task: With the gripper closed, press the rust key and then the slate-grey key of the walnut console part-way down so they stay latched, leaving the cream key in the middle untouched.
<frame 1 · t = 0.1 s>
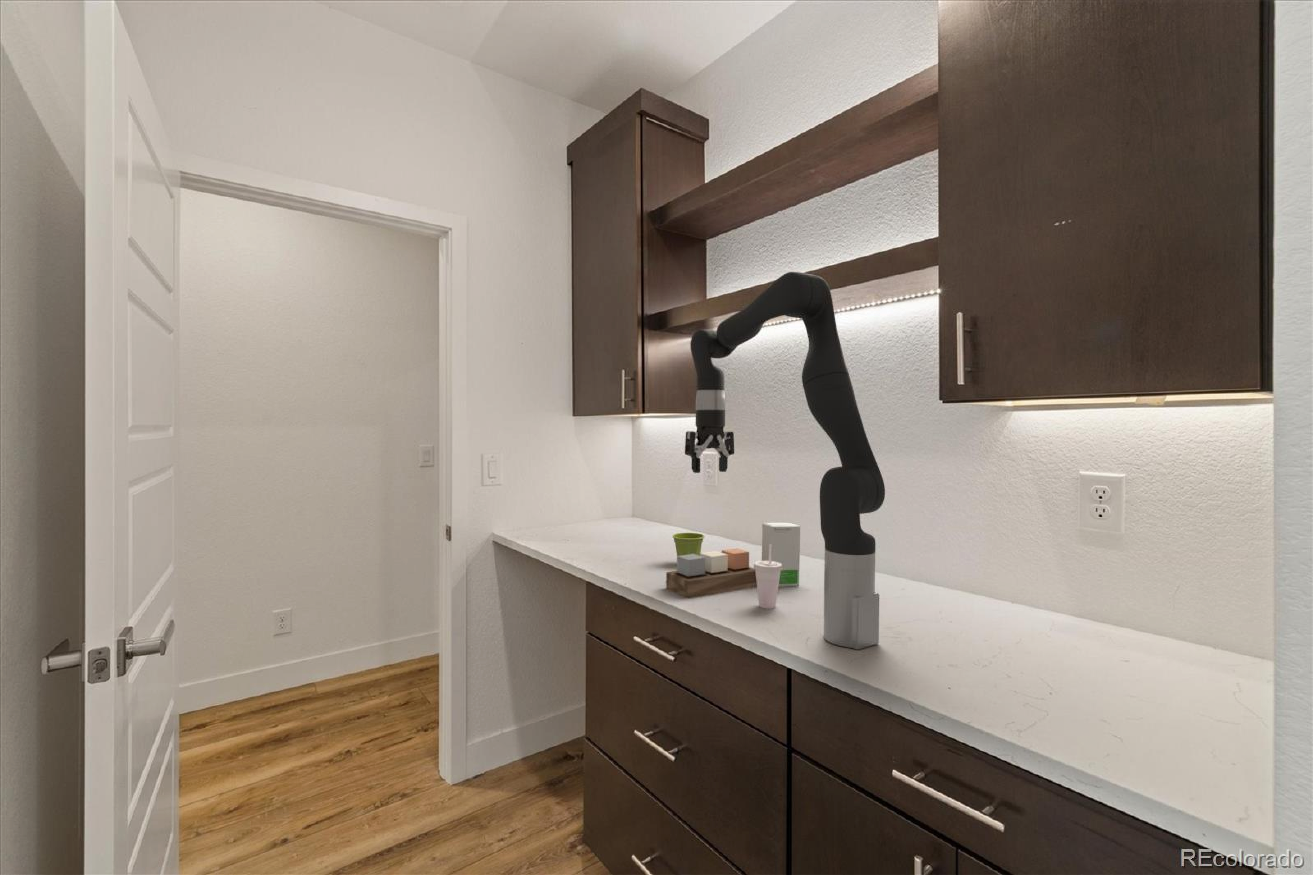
hand: (709, 472, 151), 29 cm above the table, fingers open, 8 cm apart
smoothie: (767, 606, 134), on the table
skincare box: (779, 584, 154), on the table
key cream: (713, 561, 150), point 6 cm above the table, slide at 0.0 cm
console: (713, 586, 150), on the table
key rust: (735, 558, 154), point 6 cm above the table, slide at 0.0 cm
key slate: (690, 564, 146), point 6 cm above the table, slide at 0.0 cm
plant pot: (688, 565, 174), on the table
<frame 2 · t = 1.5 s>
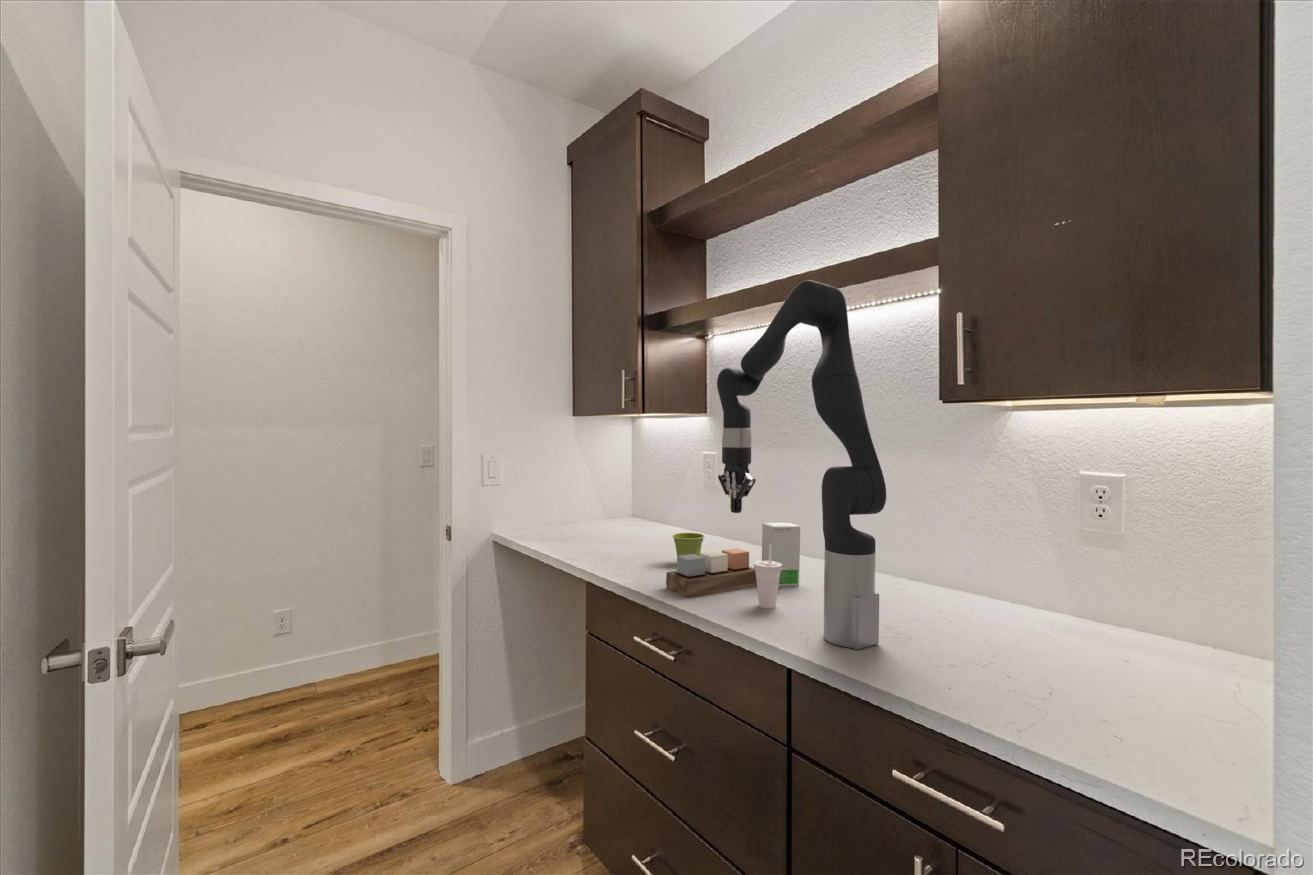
hand: (735, 512, 153), 18 cm above the table, fingers closed
nothing on the table moved.
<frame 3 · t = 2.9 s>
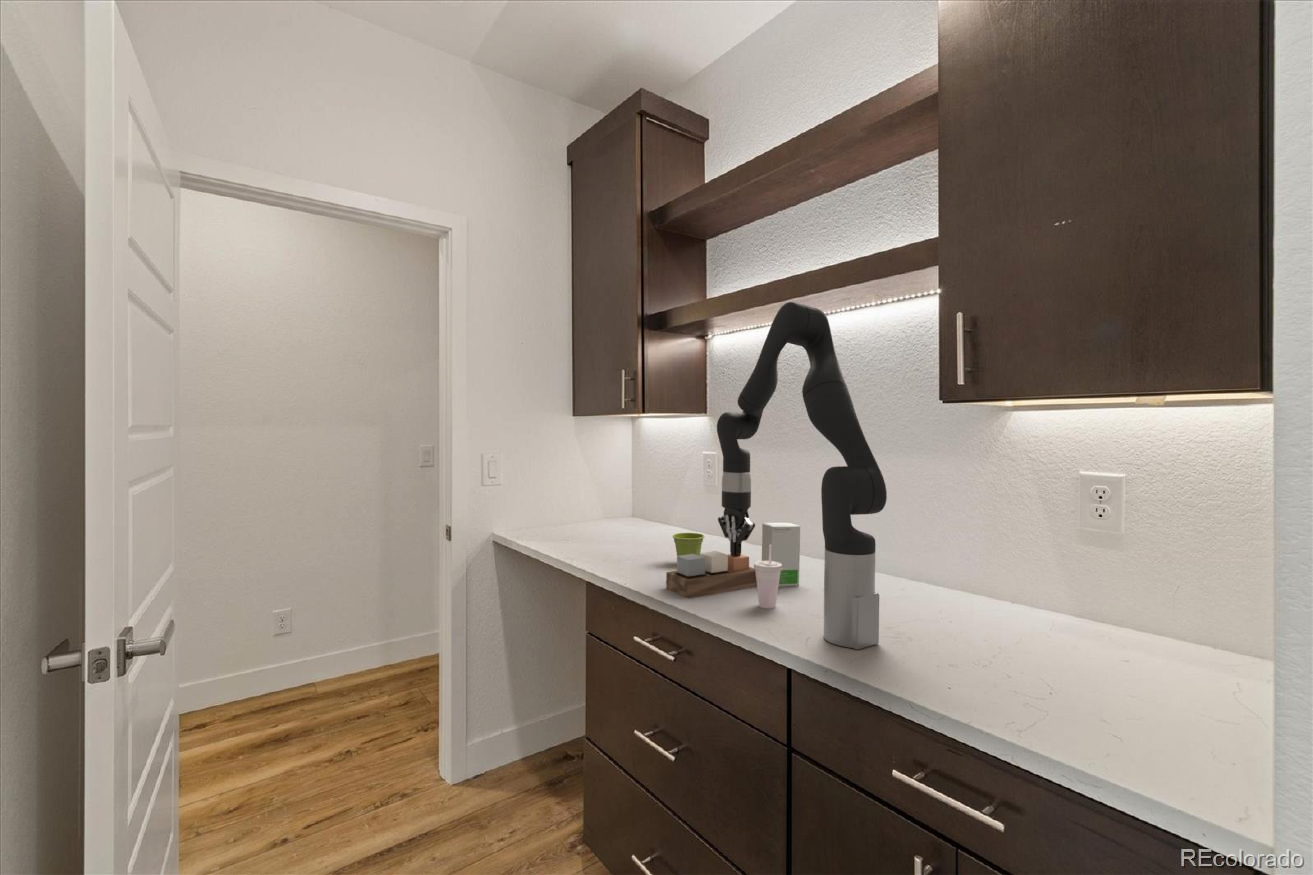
hand: (735, 555, 154), 7 cm above the table, fingers closed
key rust: (735, 563, 154), point 5 cm above the table, slide at 1.3 cm, touching gripper
everything else where it was.
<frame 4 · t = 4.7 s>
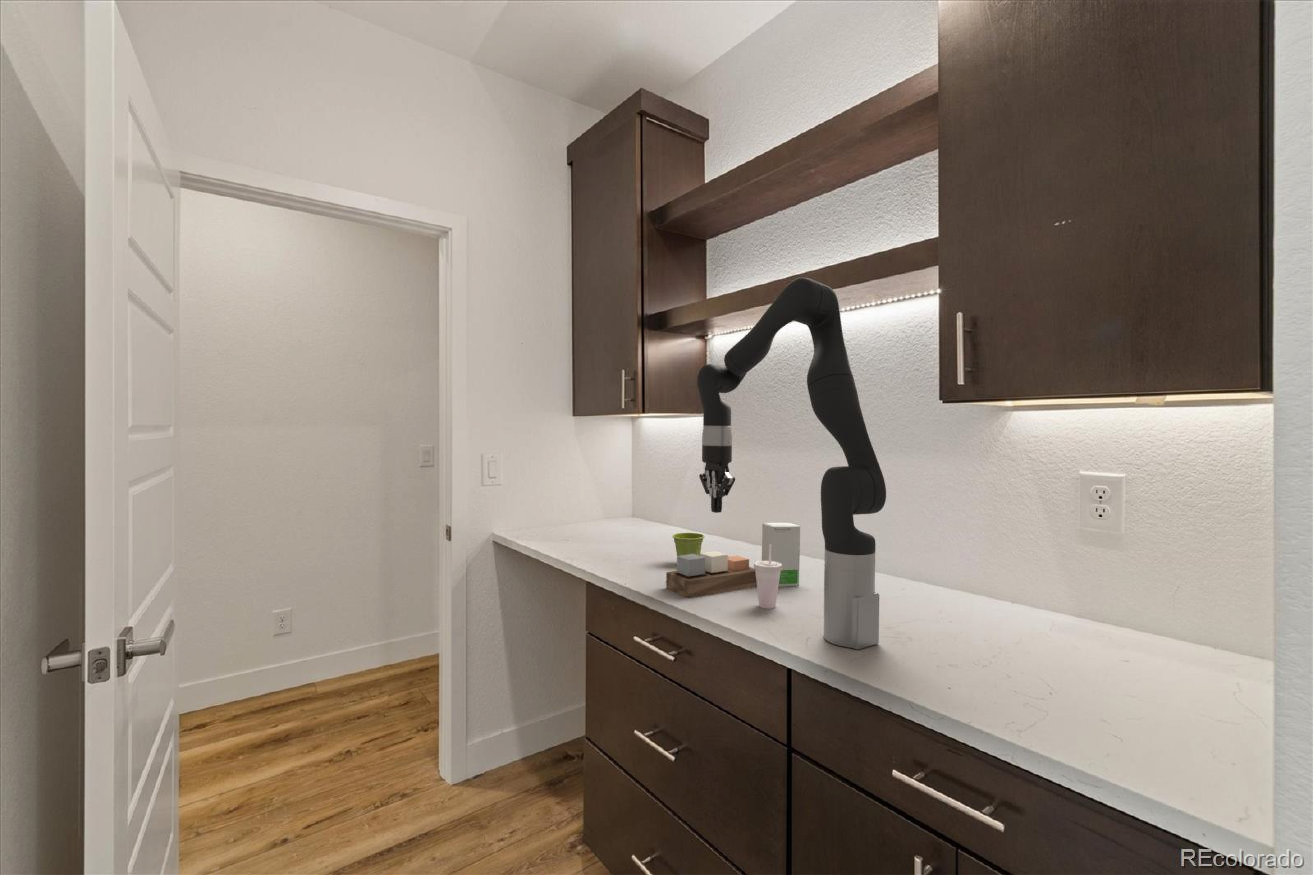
hand: (716, 512, 150), 19 cm above the table, fingers closed
key rust: (735, 566, 154), point 4 cm above the table, slide at 1.9 cm
everything else where it was.
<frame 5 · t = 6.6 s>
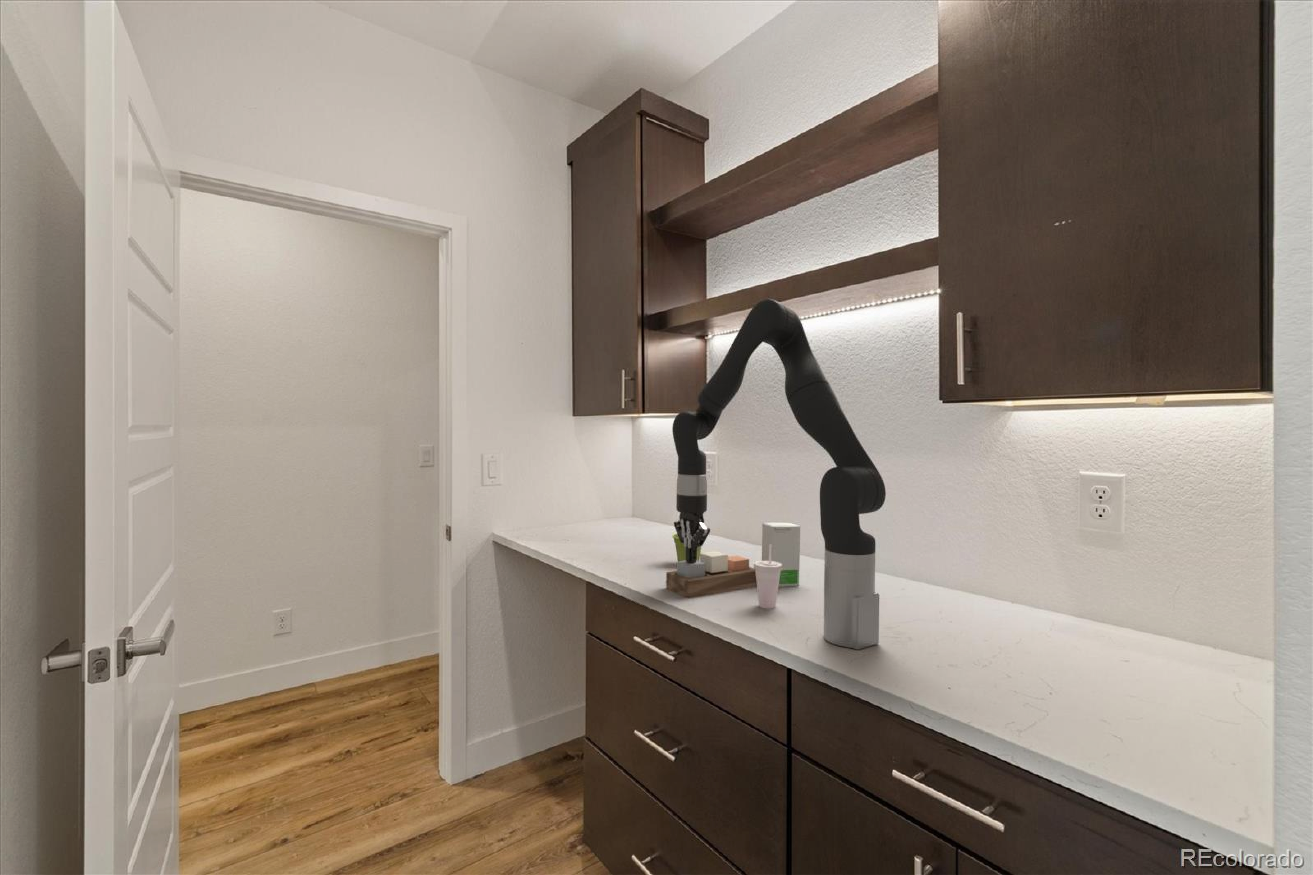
hand: (691, 562, 147), 7 cm above the table, fingers closed
key slate: (690, 570, 146), point 5 cm above the table, slide at 1.4 cm, touching gripper
everything else where it was.
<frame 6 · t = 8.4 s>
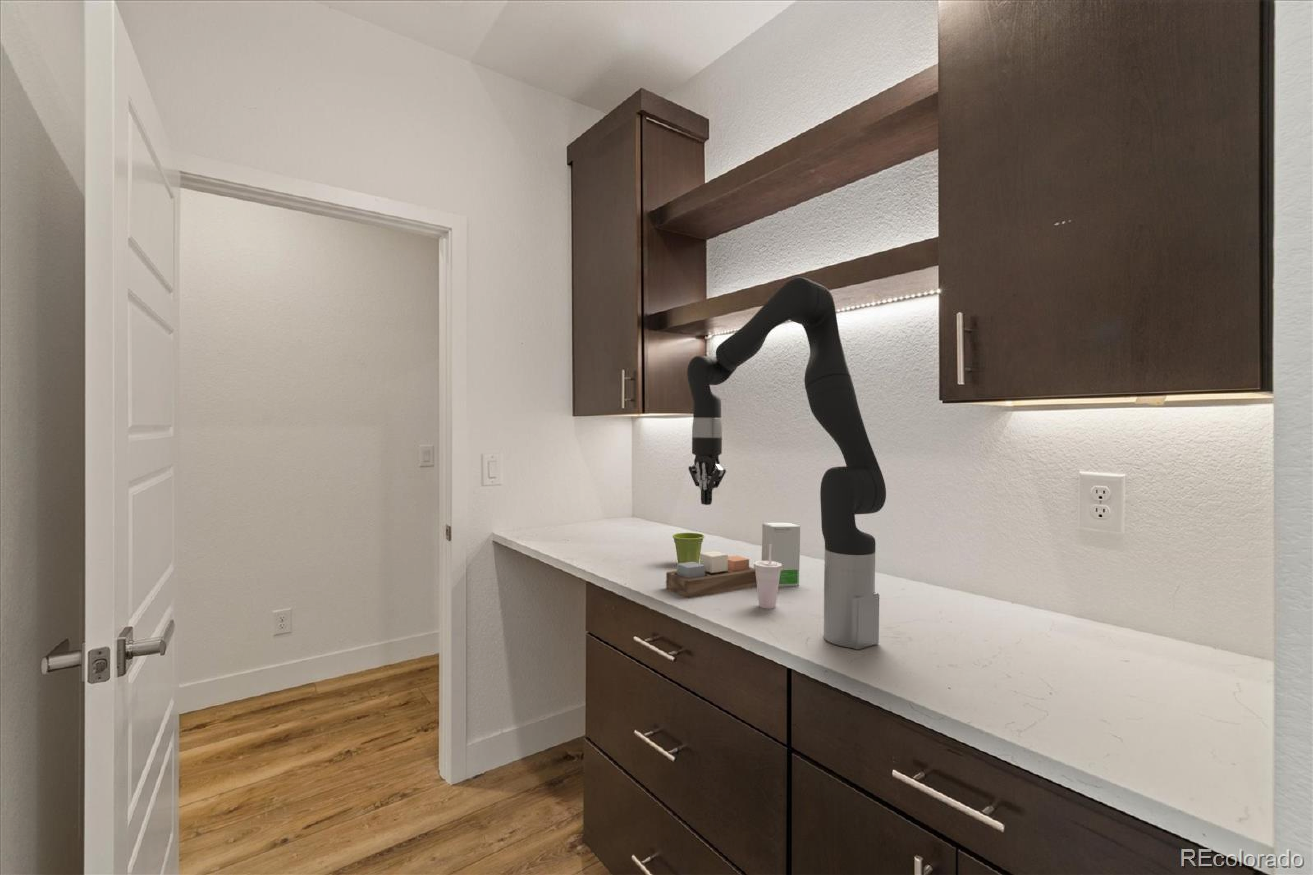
hand: (706, 504, 150), 21 cm above the table, fingers closed
key slate: (690, 572, 146), point 4 cm above the table, slide at 1.9 cm
everything else where it was.
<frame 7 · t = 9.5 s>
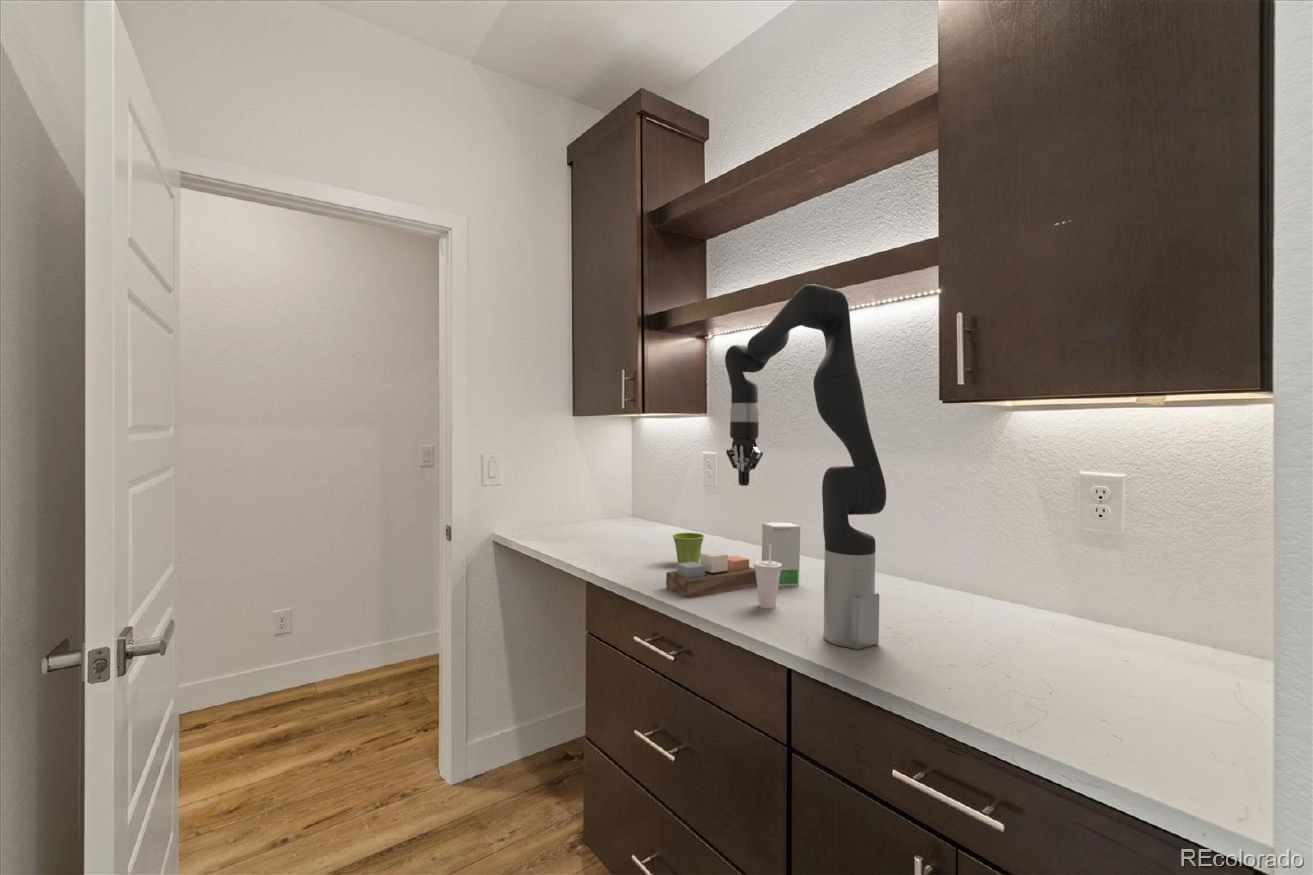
hand: (743, 485, 158), 25 cm above the table, fingers closed
nothing on the table moved.
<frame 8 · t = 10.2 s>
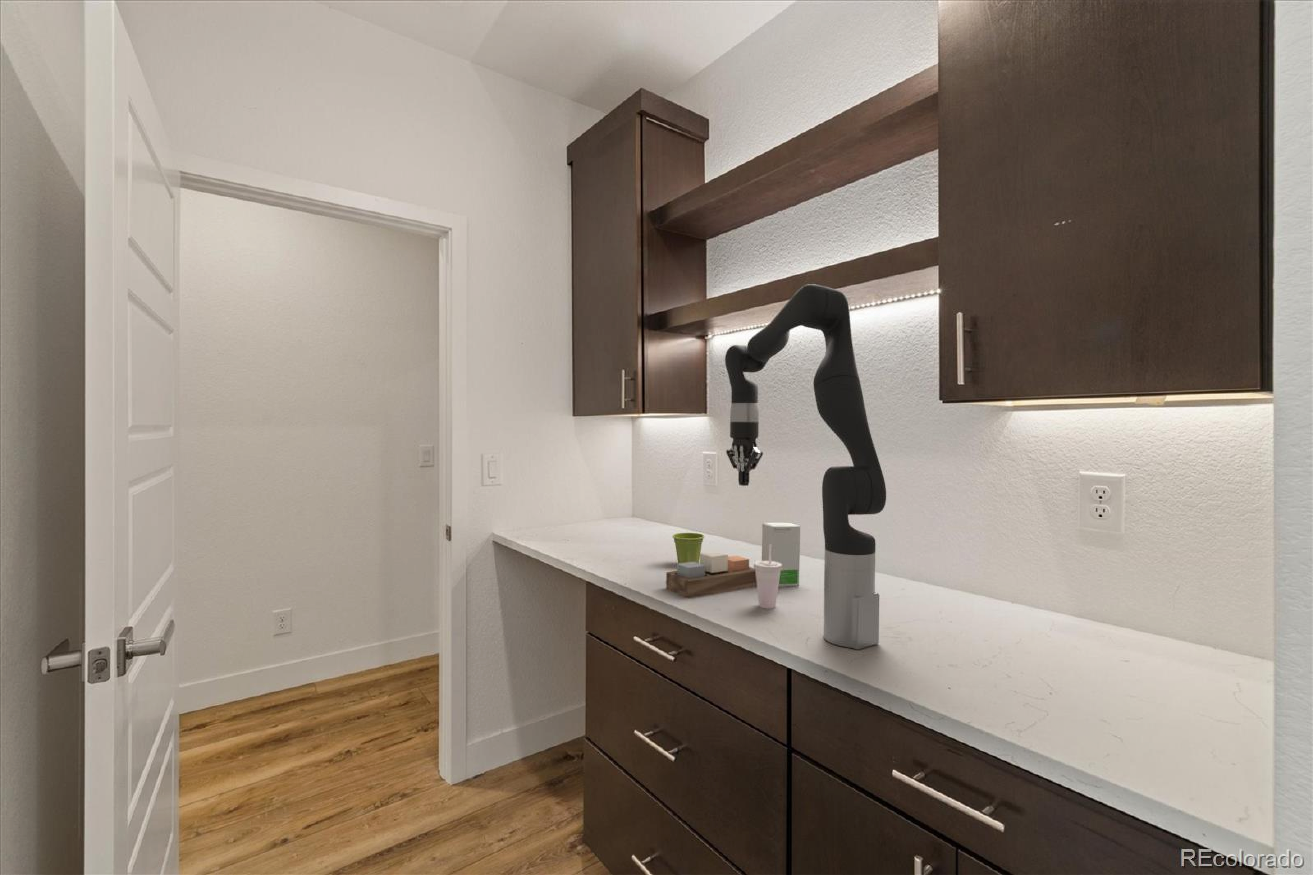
hand: (743, 485, 158), 25 cm above the table, fingers closed
nothing on the table moved.
at the end: key rust slide at 1.9 cm; key slate slide at 1.9 cm; key cream slide at 0.0 cm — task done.
